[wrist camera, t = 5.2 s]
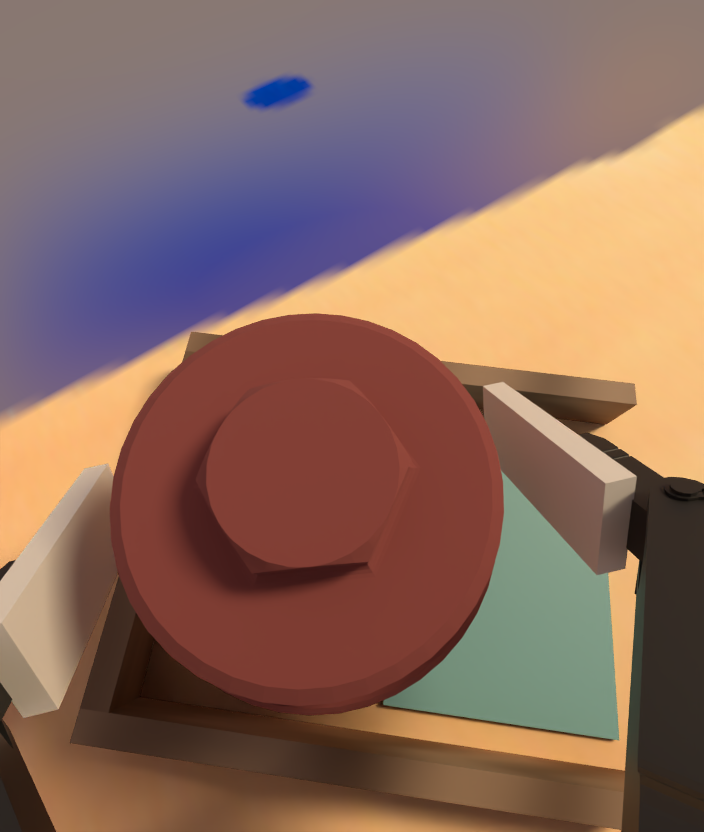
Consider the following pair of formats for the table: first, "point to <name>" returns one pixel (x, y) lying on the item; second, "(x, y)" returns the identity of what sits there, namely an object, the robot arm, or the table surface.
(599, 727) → the bay
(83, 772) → the table surface
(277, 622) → the mechanical component
